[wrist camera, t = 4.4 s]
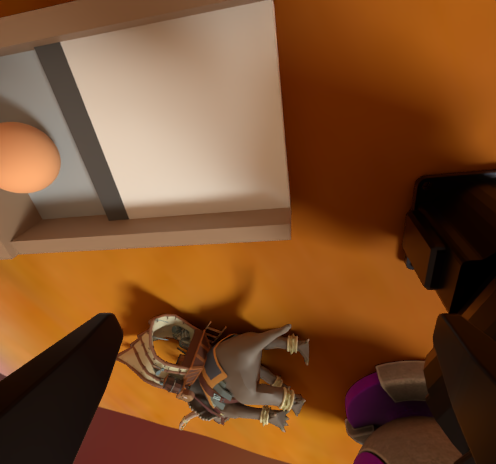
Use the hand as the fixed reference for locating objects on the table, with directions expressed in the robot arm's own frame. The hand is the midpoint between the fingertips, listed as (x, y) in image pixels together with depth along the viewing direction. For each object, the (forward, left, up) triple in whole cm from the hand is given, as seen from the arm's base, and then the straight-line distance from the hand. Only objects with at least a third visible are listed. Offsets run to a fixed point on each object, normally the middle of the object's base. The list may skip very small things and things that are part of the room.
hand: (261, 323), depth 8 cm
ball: (+15, -3, -9) cm, 18 cm away
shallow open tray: (+9, -3, -12) cm, 15 cm away
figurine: (+8, +16, -13) cm, 22 cm away
